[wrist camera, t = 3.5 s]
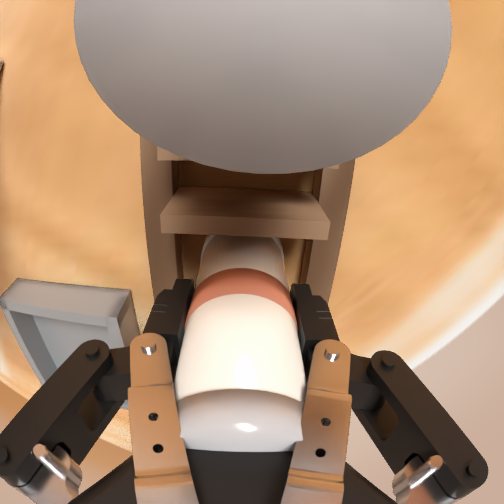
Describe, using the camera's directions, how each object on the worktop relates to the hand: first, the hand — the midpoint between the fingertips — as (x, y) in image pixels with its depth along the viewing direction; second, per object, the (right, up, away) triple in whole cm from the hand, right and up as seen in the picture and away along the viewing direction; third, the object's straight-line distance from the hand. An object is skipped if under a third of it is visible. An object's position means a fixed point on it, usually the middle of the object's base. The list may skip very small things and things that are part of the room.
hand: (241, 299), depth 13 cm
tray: (-12, -4, +7) cm, 15 cm away
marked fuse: (0, +2, +4) cm, 4 cm away
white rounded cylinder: (0, +11, -1) cm, 11 cm away
